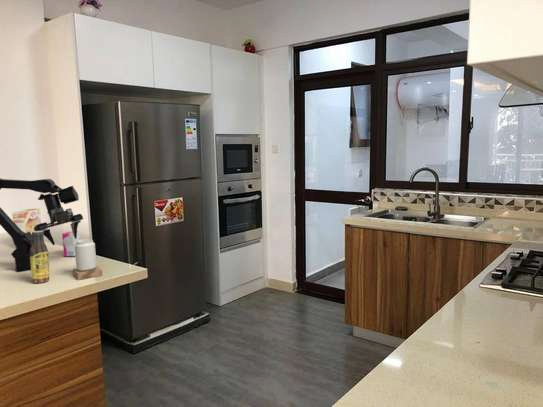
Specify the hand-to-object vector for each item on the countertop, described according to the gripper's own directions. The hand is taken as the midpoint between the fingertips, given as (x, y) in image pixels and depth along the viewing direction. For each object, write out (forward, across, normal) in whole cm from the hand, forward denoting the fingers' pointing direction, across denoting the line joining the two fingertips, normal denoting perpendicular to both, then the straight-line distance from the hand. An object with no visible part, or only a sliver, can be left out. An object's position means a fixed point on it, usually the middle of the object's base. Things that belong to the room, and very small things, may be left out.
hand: (65, 241), depth 182 cm
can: (+14, 0, -17) cm, 21 cm away
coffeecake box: (-4, +1, +65) cm, 65 cm away
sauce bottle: (+12, -16, -11) cm, 23 cm away
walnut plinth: (+16, 0, -16) cm, 23 cm away
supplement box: (+8, +8, +23) cm, 26 cm away
